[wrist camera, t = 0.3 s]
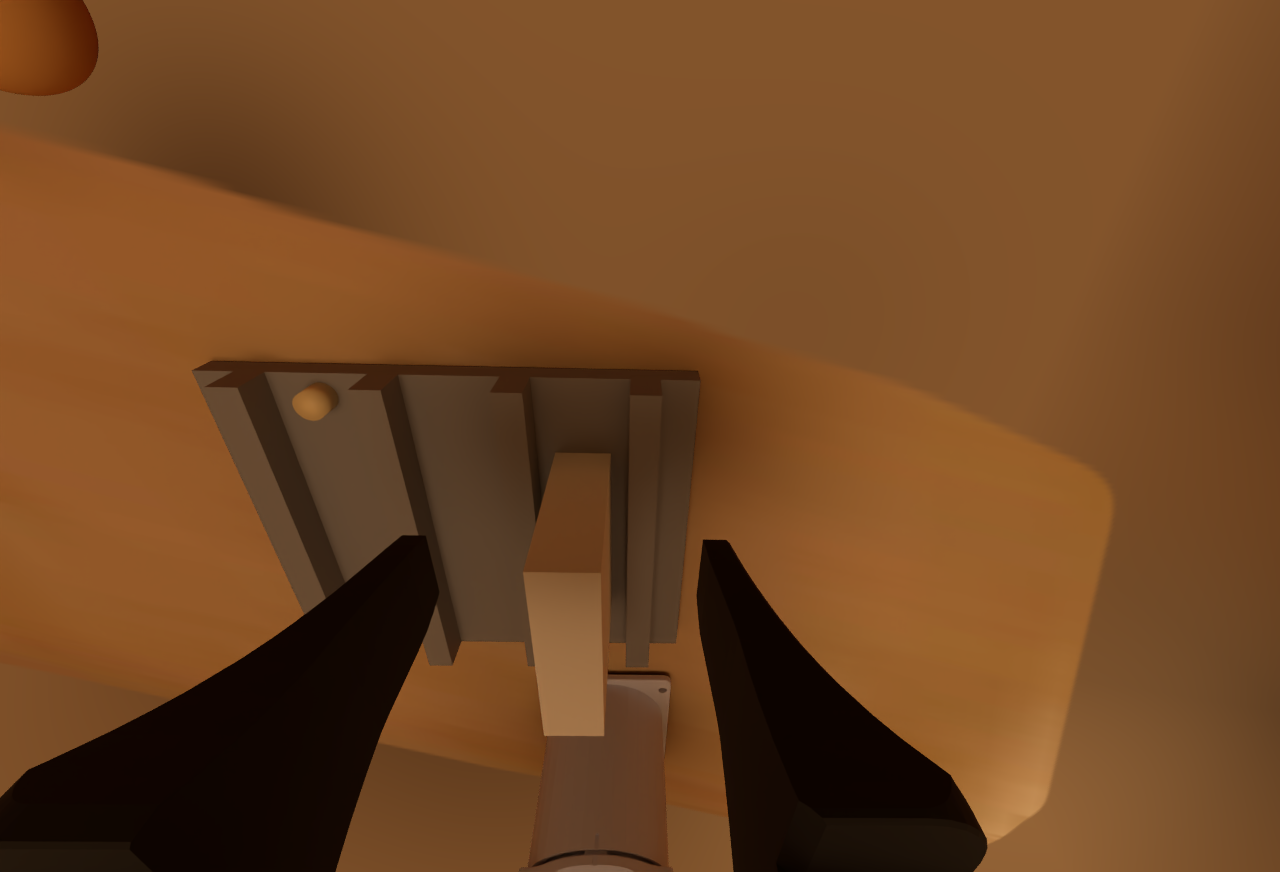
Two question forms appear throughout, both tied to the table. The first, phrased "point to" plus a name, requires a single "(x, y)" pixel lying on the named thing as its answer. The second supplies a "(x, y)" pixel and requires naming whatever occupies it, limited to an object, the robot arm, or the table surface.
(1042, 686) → the table surface
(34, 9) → the figurine
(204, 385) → the ridged panel
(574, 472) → the picture frame
